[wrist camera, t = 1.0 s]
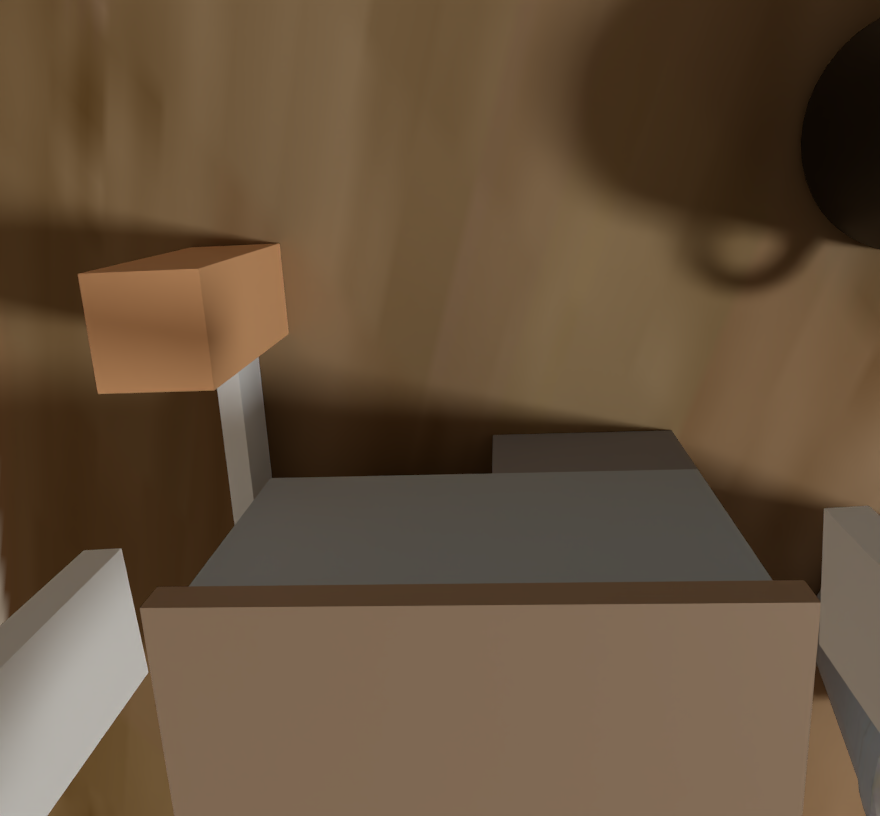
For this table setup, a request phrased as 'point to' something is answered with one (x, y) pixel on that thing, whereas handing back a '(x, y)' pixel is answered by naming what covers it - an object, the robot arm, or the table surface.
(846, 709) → the potted plant
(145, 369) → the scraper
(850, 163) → the mug
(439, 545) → the cabinet
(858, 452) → the table surface
